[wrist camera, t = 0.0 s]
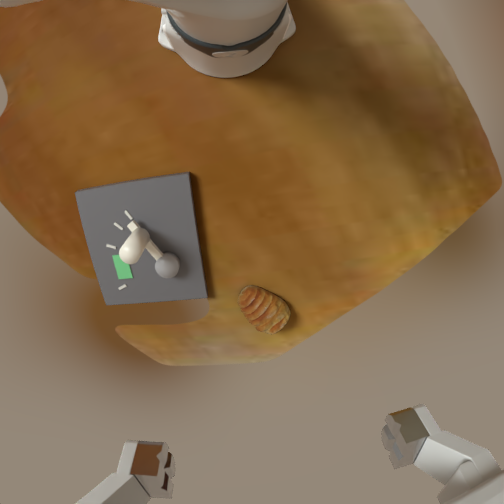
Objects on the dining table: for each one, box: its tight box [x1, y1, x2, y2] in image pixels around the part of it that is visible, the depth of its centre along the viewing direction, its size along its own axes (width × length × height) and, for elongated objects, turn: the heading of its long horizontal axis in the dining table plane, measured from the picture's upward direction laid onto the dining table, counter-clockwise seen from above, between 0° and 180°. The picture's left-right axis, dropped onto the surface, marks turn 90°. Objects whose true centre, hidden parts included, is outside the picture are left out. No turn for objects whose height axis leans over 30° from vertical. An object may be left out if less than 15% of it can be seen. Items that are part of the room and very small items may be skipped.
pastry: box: [238, 286, 291, 334], centre depth 52 cm, size 9×7×4 cm
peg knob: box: [119, 220, 180, 278], centre depth 42 cm, size 10×4×7 cm, turn 34°
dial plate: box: [75, 172, 208, 305], centre depth 47 cm, size 20×18×2 cm
